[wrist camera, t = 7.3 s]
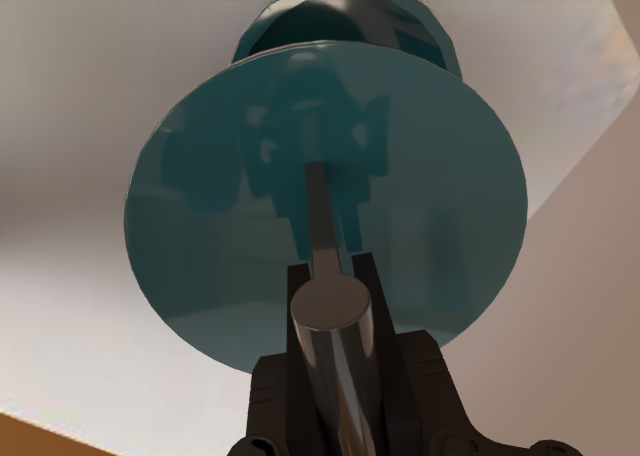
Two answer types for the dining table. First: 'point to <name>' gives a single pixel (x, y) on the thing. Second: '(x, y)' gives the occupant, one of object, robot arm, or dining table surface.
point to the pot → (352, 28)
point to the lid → (325, 215)
